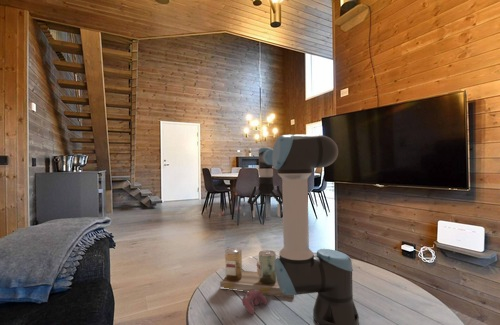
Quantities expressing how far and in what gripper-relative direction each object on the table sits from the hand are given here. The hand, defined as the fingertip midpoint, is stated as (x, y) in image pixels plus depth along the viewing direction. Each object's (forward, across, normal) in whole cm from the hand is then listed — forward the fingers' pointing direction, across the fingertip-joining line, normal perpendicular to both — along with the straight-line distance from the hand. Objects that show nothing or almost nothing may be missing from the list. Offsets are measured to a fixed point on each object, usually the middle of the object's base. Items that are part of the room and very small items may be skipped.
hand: (266, 216), depth 134 cm
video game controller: (+29, +12, +34) cm, 47 cm away
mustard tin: (+25, +19, +13) cm, 34 cm away
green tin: (+25, +4, +19) cm, 32 cm away
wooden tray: (+28, +7, +17) cm, 33 cm away
